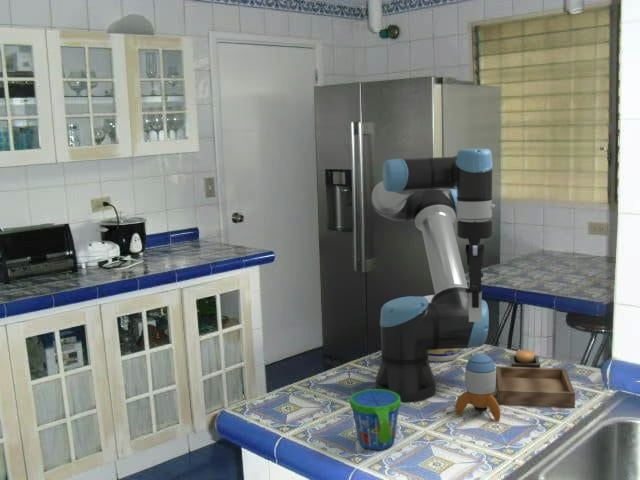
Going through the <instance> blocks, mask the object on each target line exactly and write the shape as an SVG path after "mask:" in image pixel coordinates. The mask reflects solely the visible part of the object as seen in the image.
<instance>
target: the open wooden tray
mask: <svg viewBox="0 0 640 480" xmlns="http://www.w3.org/2000/svg"><path fill="white" fill-rule="evenodd" d="M495 370H496V389H497V400H498V401H497V402H498V405H499V406H518V407H519V406H523V407H542V408H544V407H546V408H561V409H562V408H564V409H565V408H567V409H570V408H571V409H575V408H576V407H575V406H576V392H575V390H574V388H573V385H572V382H571V379H570V377H569V375H568V372H567V369H566V368H561V367H560V368H557V367H555V368H554V367H552V368H551V367H540V368H531V367H510V366H501V365H500V366H495Z"/></svg>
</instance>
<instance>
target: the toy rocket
mask: <svg viewBox="0 0 640 480" xmlns="http://www.w3.org/2000/svg"><path fill="white" fill-rule="evenodd" d="M465 366H466V367H465V373H464V377H465V378H464V379H465V380H464V382H465V389H466V391H465V392H463V393H461V394H460V395H459V396H458V398H457V399H456V402H455V405H454V406H455V407H454V408H455V409H454V410H455V413H456V415H457V416H460V415H461V414H462V413H463V411H464V410H465V409H466V408H467V407H468V404H469V405H472V407H474V408H473V410H474V411H476V412H486V411H487V410H488V409H489V412H490V413H491V415H492V416H493V419H494V420H495V422H500V419H501V409H500V405H499V402H498V401H497V400H496V398H495V397H494V395H495V392H496V389H497V383H496V366H495V363H494V361H493V360H492V358H491V357H490V356H489V355H487V354H485V353H475V354H473V355H472V356H470V357H469V359H468V361H467V363H466V365H465Z"/></svg>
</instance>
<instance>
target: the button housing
mask: <svg viewBox="0 0 640 480" xmlns="http://www.w3.org/2000/svg"><path fill="white" fill-rule="evenodd" d="M509 365H510V366H509V367H531V368H541V363H540V360H539V355H534V361H533V362H529V363H524V362H519V361H517V360H516V354H510V363H509Z"/></svg>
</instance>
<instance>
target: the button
mask: <svg viewBox="0 0 640 480" xmlns="http://www.w3.org/2000/svg"><path fill="white" fill-rule="evenodd" d="M515 355H516V360H517V361H519V362H524V363H529V362H533V361H534V356H535V352H534V351H533V350H530V349H518V350H516V351H515Z"/></svg>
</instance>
